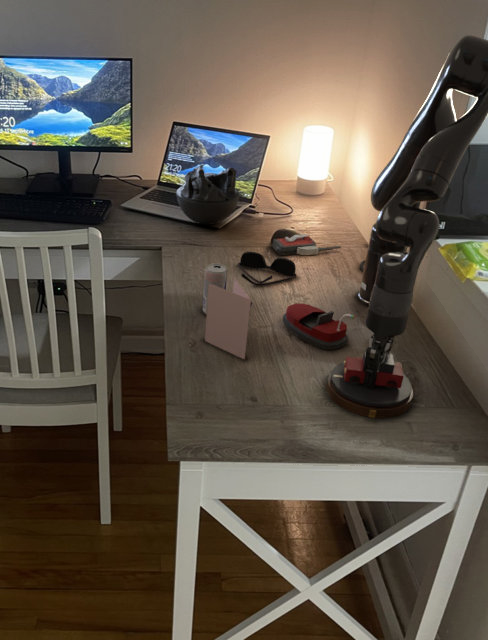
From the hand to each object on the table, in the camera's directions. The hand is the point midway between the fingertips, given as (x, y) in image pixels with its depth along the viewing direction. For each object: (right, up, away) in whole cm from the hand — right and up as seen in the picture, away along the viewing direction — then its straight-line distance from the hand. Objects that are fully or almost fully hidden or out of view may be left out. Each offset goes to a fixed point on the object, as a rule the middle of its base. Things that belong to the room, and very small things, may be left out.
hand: (373, 378), depth 139 cm
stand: (0, -3, +2) cm, 4 cm away
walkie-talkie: (+1, +35, +65) cm, 73 cm away
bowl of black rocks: (-27, +46, +83) cm, 99 cm away
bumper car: (-6, +9, +22) cm, 25 cm away
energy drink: (-30, +15, +31) cm, 46 cm away
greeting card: (-29, +6, +17) cm, 34 cm away
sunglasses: (-15, +24, +47) cm, 55 cm away
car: (0, -1, +1) cm, 1 cm away
